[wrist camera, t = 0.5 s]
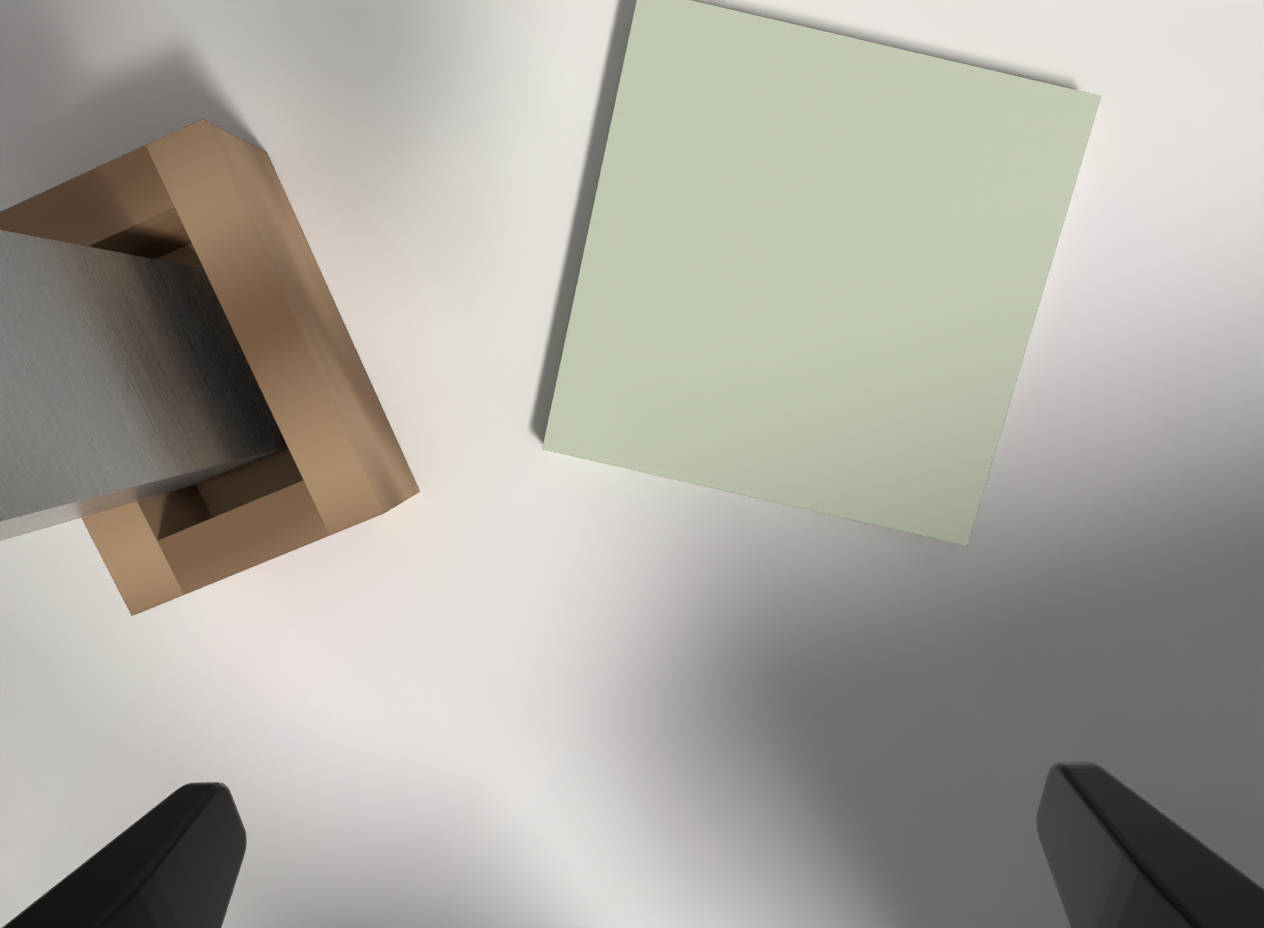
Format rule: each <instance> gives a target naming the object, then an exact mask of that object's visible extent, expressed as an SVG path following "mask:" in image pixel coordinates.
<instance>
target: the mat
mask: <svg viewBox="0 0 1264 928" xmlns="http://www.w3.org/2000/svg"><path fill="white" fill-rule="evenodd" d="M1100 99H1101V96H1100V95H1095V94H1091V93H1087V92H1082V91H1078V90H1074V89H1070V88H1065V87H1061V86H1057V85H1052V84H1048V83H1044V82H1040V81H1035V80H1031V79H1027V78H1022V77H1018V76H1014V75H1010V74H1005V73H1001V72H997V71H992V70H988V69H984V68H980V67H975V66H971V65H967V64H962V63H958V62H954V61H949V60H945V59H941V58H937V57H932V56H928V55H924V54H919V53H915V52H911V51H907V50H902V49H898V48H894V47H889V46H885V45H881V44H877V43H872V42H868V41H864V40H859V39H855V38H851V37H847V36H842V35H838V34H834V33H829V32H825V31H821V30H817V29H812V28H808V27H804V26H799V25H795V24H791V23H787V22H782V21H778V20H774V19H769V18H765V17H761V16H756V15H752V14H748V13H744V12H739V11H735V10H731V9H726V8H722V7H718V6H714V5H709V4H705V3H701V2H696V1H692V0H637V1H636V6H635V11H634V16H633V20H632V25H631V30H630V35H629V39H628V44H627V49H626V54H625V58H624V63H623V68H622V73H621V77H620V82H619V87H618V92H617V96H616V101H615V106H614V111H613V115H612V120H611V125H610V130H609V134H608V139H607V144H606V149H605V153H604V158H603V163H602V168H601V172H600V177H599V182H598V187H597V191H596V196H595V201H594V206H593V210H592V215H591V220H590V225H589V229H588V234H587V239H586V244H585V248H584V253H583V258H582V263H581V267H580V272H579V277H578V282H577V286H576V291H575V296H574V301H573V305H572V310H571V315H570V320H569V324H568V329H567V334H566V339H565V343H564V348H563V353H562V358H561V362H560V367H559V372H558V377H557V381H556V386H555V391H554V396H553V400H552V405H551V410H550V415H549V419H548V424H547V429H546V434H545V438H544V443H543V448H542V450H547V451H551V452H556V453H560V454H564V455H569V456H573V457H578V458H582V459H587V460H591V461H595V462H600V463H604V464H609V465H613V466H617V467H622V468H626V469H631V470H635V471H639V472H644V473H648V474H653V475H657V476H661V477H666V478H670V479H675V480H679V481H683V482H688V483H692V484H697V485H701V486H705V487H710V488H714V489H719V490H723V491H727V492H732V493H736V494H741V495H745V496H750V497H754V498H758V499H763V500H767V501H772V502H776V503H780V504H785V505H789V506H794V507H798V508H802V509H807V510H811V511H816V512H820V513H824V514H829V515H833V516H838V517H842V518H846V519H851V520H855V521H860V522H864V523H868V524H873V525H877V526H882V527H886V528H890V529H895V530H899V531H904V532H908V533H912V534H917V535H921V536H926V537H930V538H935V539H939V540H943V541H948V542H952V543H957V544H961V545H965V546H967V545H968V542H969V538H970V535H971V532H972V528H973V525H974V521H975V518H976V515H977V511H978V508H979V505H980V501H981V498H982V495H983V491H984V488H985V485H986V481H987V478H988V475H989V471H990V468H991V464H992V461H993V458H994V454H995V451H996V448H997V444H998V441H999V438H1000V434H1001V431H1002V428H1003V424H1004V421H1005V418H1006V414H1007V411H1008V408H1009V404H1010V401H1011V397H1012V394H1013V391H1014V387H1015V384H1016V381H1017V377H1018V374H1019V371H1020V367H1021V364H1022V361H1023V357H1024V354H1025V351H1026V347H1027V344H1028V340H1029V337H1030V334H1031V330H1032V327H1033V324H1034V320H1035V317H1036V314H1037V310H1038V307H1039V304H1040V300H1041V297H1042V294H1043V290H1044V287H1045V283H1046V280H1047V277H1048V273H1049V270H1050V267H1051V263H1052V260H1053V257H1054V253H1055V250H1056V247H1057V243H1058V240H1059V237H1060V233H1061V230H1062V226H1063V223H1064V220H1065V216H1066V213H1067V210H1068V206H1069V203H1070V200H1071V196H1072V193H1073V190H1074V186H1075V183H1076V180H1077V176H1078V173H1079V169H1080V166H1081V163H1082V159H1083V156H1084V153H1085V149H1086V146H1087V143H1088V139H1089V136H1090V133H1091V129H1092V126H1093V123H1094V119H1095V116H1096V112H1097V109H1098V106H1099V102H1100Z"/></svg>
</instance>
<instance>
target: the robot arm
mask: <svg viewBox="0 0 1264 928" xmlns="http://www.w3.org/2000/svg"><path fill="white" fill-rule="evenodd" d="M1037 830H1038V834H1039V838H1040V841H1041V844H1042V847H1043V850H1044V853H1045V856H1046V858H1047V861H1048V864H1049V867H1050V870H1051V873H1052V876H1053V879H1054V881H1055V884H1056V887H1057V890H1058V893H1059V896H1060V899H1061V901H1062V904H1063V907H1064V910H1065V913H1066V916H1067V919H1068V921H1069V924H1070V927H1071V928H1264V889H1263V888H1261V887H1260V886H1259V885H1257V884H1256V883H1255V882H1253V881H1252V880H1251V879H1249V878H1248V877H1247V876H1245V875H1244V874H1243V873H1241V872H1240V871H1239V870H1237V869H1236V868H1235V867H1233V866H1232V865H1231V864H1229V863H1228V862H1227V861H1225V860H1224V859H1223V858H1221V857H1220V856H1219V855H1217V854H1216V853H1215V852H1213V851H1212V850H1211V849H1209V848H1208V847H1207V846H1205V845H1204V844H1203V843H1201V842H1200V841H1199V840H1197V839H1196V838H1195V837H1193V836H1192V835H1191V834H1189V833H1188V832H1187V831H1185V830H1184V829H1183V828H1181V827H1180V826H1179V825H1177V824H1176V823H1175V822H1173V821H1172V820H1171V819H1169V818H1168V817H1167V816H1165V815H1164V814H1163V813H1161V812H1160V811H1159V810H1157V809H1156V808H1155V807H1153V806H1152V805H1151V804H1149V803H1148V802H1147V801H1145V800H1144V799H1143V798H1141V797H1140V796H1139V795H1137V794H1136V793H1135V792H1133V791H1132V790H1131V789H1129V788H1128V787H1127V786H1125V785H1124V784H1123V783H1121V782H1120V781H1119V780H1117V779H1116V778H1115V777H1113V776H1112V775H1111V774H1109V773H1108V772H1107V771H1105V770H1104V769H1102V768H1101V767H1099V766H1097V765H1095V764H1093V763H1089V762H1071V763H1056V764H1054V765H1053V766H1052V767H1051V768H1050V770H1049V772H1048V776H1047V779H1046V783H1045V787H1044V790H1043V794H1042V798H1041V801H1040V805H1039V808H1038V812H1037ZM245 850H246V831H245V828H244V825H243V823H242V820H241V818H240V815H239V813H238V810H237V807H236V805H235V802H234V800H233V797H232V795H231V792H230V790H229V788H228V787H227V786H226V785H224V784H223V783H219V782H207V783H189V784H186V785H184V786H182V787H180V788H179V789H177V790H176V791H175V792H173V793H172V794H171V795H170V796H168V797H167V798H166V799H164V800H163V801H162V802H161V803H159V804H158V805H157V806H156V807H154V808H153V809H152V810H151V811H149V812H148V813H147V814H145V815H144V816H143V817H142V818H140V819H139V820H138V821H137V822H135V823H134V824H133V825H132V826H130V827H129V828H128V829H126V830H125V831H124V832H123V833H121V834H120V835H119V836H118V837H116V838H115V839H114V840H113V841H111V842H110V843H109V844H107V845H106V846H105V847H104V848H102V849H101V850H100V851H99V852H97V853H96V854H95V855H93V856H92V857H91V858H90V859H88V860H87V861H86V862H85V863H83V864H82V865H81V866H80V867H78V868H77V869H76V870H74V871H73V872H72V873H71V874H69V875H68V876H67V877H66V878H64V879H63V880H62V881H61V882H59V883H58V884H57V885H55V886H54V887H53V888H52V889H50V890H49V891H48V892H47V893H45V894H44V895H43V896H42V897H40V898H39V899H38V900H36V901H35V902H34V903H33V904H31V905H30V906H29V907H28V908H26V909H25V910H24V911H23V912H21V913H20V914H19V915H17V916H16V917H15V918H14V919H12V920H11V921H10V922H9V923H7V924H6V925H5V926H3V927H2V928H221V927H222V924H223V921H224V918H225V915H226V911H227V908H228V905H229V902H230V899H231V896H232V893H233V889H234V886H235V883H236V880H237V877H238V874H239V871H240V867H241V864H242V861H243V858H244V854H245Z"/></svg>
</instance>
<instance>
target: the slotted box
mask: <svg viewBox="0 0 1264 928" xmlns="http://www.w3.org/2000/svg"><path fill="white" fill-rule="evenodd" d="M0 230H3V231H8V232H14V233H19V234H24V235H29V236H35V237H40V238H45V239H51V240H56V241H61V242H66V243H72V244H77V245H82V246H87V247H93V248H98V249H103V250H109V251H114V252H119V253H124V254H130V255H135V256H140V257H145V258H151V259H156V260H161V261H167V262H172V263H177V264H182V265H188V266H193V267H198V268H203V269H204V270H205V272H206V274H207V276H208V278H209V281H210V283H211V285H212V287H213V289H214V291H215V293H216V295H217V298H218V300H219V302H220V304H221V306H222V308H223V310H224V312H225V315H226V317H227V319H228V321H229V323H230V325H231V327H232V329H233V331H234V334H235V336H236V338H237V340H238V342H239V344H240V346H241V348H242V351H243V353H244V355H245V357H246V359H247V361H248V363H249V365H250V368H251V370H252V372H253V374H254V376H255V378H256V380H257V382H258V384H259V387H260V389H261V391H262V393H263V395H264V397H265V399H266V401H267V404H268V406H269V408H270V410H271V412H272V414H273V416H274V418H275V421H276V423H277V425H278V427H279V429H280V431H281V433H282V435H283V437H284V440H285V442H286V444H287V446H288V448H289V449H287V450H285V451H282V452H280V453H278V454H275V455H273V456H270V457H268V458H266V459H263V460H261V461H259V462H256V463H254V464H251V465H249V466H247V467H244V468H242V469H239V470H237V471H235V472H232V473H230V474H227V475H225V476H223V477H219V478H216V479H212V480H209V481H205V482H202V483H199V484H195V485H192V486H188V487H185V488H181V489H178V490H174V491H171V492H167V493H164V494H160V495H157V496H154V497H150V498H147V499H143V500H140V501H136V502H133V503H129V504H126V505H122V506H119V507H115V508H112V509H109V510H105V511H102V512H98V513H95V514H91V515H88V516H84V517H81V518H82V520H83V522H84V524H85V526H86V528H87V530H88V532H89V534H90V536H91V537H92V539H93V541H94V543H95V545H96V547H97V549H98V551H99V553H100V555H101V557H102V559H103V561H104V563H105V565H106V567H107V569H108V571H109V572H110V574H111V576H112V578H113V580H114V582H115V584H116V586H117V588H118V590H119V592H120V594H121V596H122V598H123V600H124V602H125V604H126V606H127V607H128V609H129V611H130V613H131V615H132V616H133V615H136V614H138V613H141V612H143V611H146V610H148V609H150V608H153V607H155V606H158V605H160V604H163V603H165V602H168V601H170V600H173V599H175V598H177V597H180V596H182V595H185V594H187V593H190V592H192V591H195V590H197V589H200V588H202V587H204V586H207V585H209V584H212V583H214V582H217V581H219V580H222V579H224V578H227V577H229V576H231V575H234V574H236V573H239V572H241V571H244V570H246V569H249V568H251V567H254V566H256V565H258V564H261V563H263V562H266V561H268V560H271V559H273V558H276V557H278V556H281V555H283V554H285V553H288V552H290V551H293V550H295V549H298V548H300V547H303V546H305V545H308V544H310V543H312V542H315V541H317V540H320V539H322V538H325V537H327V536H330V535H332V534H335V533H337V532H339V531H342V530H344V529H347V528H349V527H352V526H354V525H357V524H359V523H362V522H364V521H366V520H369V519H371V518H374V517H376V516H379V515H381V514H384V513H385V512H387V511H389V510H390V509H392V508H394V507H395V506H397V505H399V504H400V503H402V502H404V501H405V500H407V499H409V498H410V497H412V496H414V495H415V494H417V493H419V492H420V490H419V488H418V486H417V484H416V482H415V479H414V477H413V475H412V473H411V470H410V468H409V466H408V464H407V462H406V459H405V457H404V455H403V453H402V451H401V448H400V446H399V444H398V442H397V440H396V437H395V435H394V433H393V431H392V428H391V426H390V424H389V422H388V420H387V417H386V415H385V413H384V411H383V409H382V406H381V404H380V402H379V400H378V397H377V395H376V393H375V391H374V389H373V386H372V384H371V382H370V380H369V378H368V375H367V373H366V371H365V369H364V367H363V364H362V362H361V360H360V358H359V355H358V353H357V351H356V349H355V347H354V344H353V342H352V340H351V338H350V336H349V333H348V331H347V329H346V327H345V325H344V322H343V320H342V318H341V316H340V313H339V311H338V309H337V307H336V305H335V302H334V300H333V298H332V296H331V294H330V291H329V289H328V287H327V285H326V282H325V280H324V278H323V276H322V274H321V271H320V269H319V267H318V265H317V263H316V260H315V258H314V256H313V254H312V252H311V249H310V247H309V245H308V243H307V240H306V238H305V236H304V234H303V232H302V229H301V227H300V225H299V223H298V221H297V218H296V216H295V214H294V212H293V209H292V207H291V205H290V203H289V201H288V198H287V196H286V194H285V192H284V190H283V187H282V185H281V183H280V181H279V179H278V176H277V174H276V172H275V170H274V167H273V165H272V163H271V161H270V159H269V156H268V154H267V152H265V151H263V150H261V149H259V148H257V147H255V146H253V145H251V144H249V143H247V142H246V141H244V140H242V139H240V138H238V137H236V136H234V135H232V134H230V133H228V132H226V131H225V130H223V129H221V128H219V127H217V126H215V125H213V124H211V123H209V122H207V121H205V120H204V119H202V120H200V121H198V122H195V123H193V124H191V125H189V126H187V127H184V128H182V129H180V130H178V131H176V132H174V133H171V134H169V135H167V136H165V137H163V138H160V139H158V140H156V141H154V142H152V143H150V144H147V145H145V146H143V147H141V148H139V149H137V150H134V151H132V152H130V153H128V154H126V155H123V156H121V157H119V158H117V159H115V160H113V161H110V162H108V163H106V164H104V165H102V166H99V167H97V168H95V169H93V170H91V171H89V172H86V173H84V174H82V175H80V176H78V177H75V178H73V179H71V180H69V181H67V182H65V183H62V184H60V185H58V186H56V187H54V188H52V189H49V190H47V191H45V192H43V193H41V194H38V195H36V196H34V197H32V198H30V199H28V200H25V201H23V202H21V203H19V204H17V205H14V206H12V207H10V208H8V209H6V210H4V211H1V212H0Z"/></svg>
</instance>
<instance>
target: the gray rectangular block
mask: <svg viewBox="0 0 1264 928" xmlns="http://www.w3.org/2000/svg"><path fill="white" fill-rule="evenodd" d="M287 449H289V448H288V446H287V444H286V442H285V440H284V437H283V435H282V433H281V431H280V429H279V427H278V425H277V423H276V421H275V418H274V416H273V414H272V412H271V410H270V408H269V406H268V404H267V401H266V399H265V397H264V395H263V393H262V391H261V389H260V387H259V384H258V382H257V380H256V378H255V376H254V374H253V372H252V370H251V368H250V365H249V363H248V361H247V359H246V357H245V355H244V353H243V351H242V348H241V346H240V344H239V342H238V340H237V338H236V336H235V334H234V331H233V329H232V327H231V325H230V323H229V321H228V319H227V317H226V315H225V312H224V310H223V308H222V306H221V304H220V302H219V300H218V298H217V295H216V293H215V291H214V289H213V287H212V285H211V283H210V281H209V278H208V276H207V274H206V272H205V270H204V269H203V268H198V267H193V266H188V265H182V264H177V263H172V262H167V261H161V260H156V259H151V258H145V257H140V256H135V255H130V254H124V253H119V252H114V251H109V250H103V249H98V248H93V247H87V246H82V245H77V244H72V243H66V242H61V241H56V240H51V239H45V238H40V237H35V236H29V235H24V234H19V233H14V232H8V231H3V230H0V541H1V540H5V539H8V538H12V537H15V536H19V535H22V534H26V533H29V532H32V531H36V530H39V529H43V528H46V527H50V526H53V525H57V524H60V523H64V522H67V521H70V520H74V519H77V518H81V517H84V516H88V515H91V514H95V513H98V512H102V511H105V510H109V509H112V508H115V507H119V506H122V505H126V504H129V503H133V502H136V501H140V500H143V499H147V498H150V497H154V496H157V495H160V494H164V493H167V492H171V491H174V490H178V489H181V488H185V487H188V486H192V485H195V484H199V483H202V482H205V481H209V480H212V479H216V478H219V477H223V476H225V475H227V474H230V473H232V472H235V471H237V470H239V469H242V468H244V467H247V466H249V465H251V464H254V463H256V462H259V461H261V460H263V459H266V458H268V457H270V456H273V455H275V454H278V453H280V452H282V451H285V450H287Z"/></svg>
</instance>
